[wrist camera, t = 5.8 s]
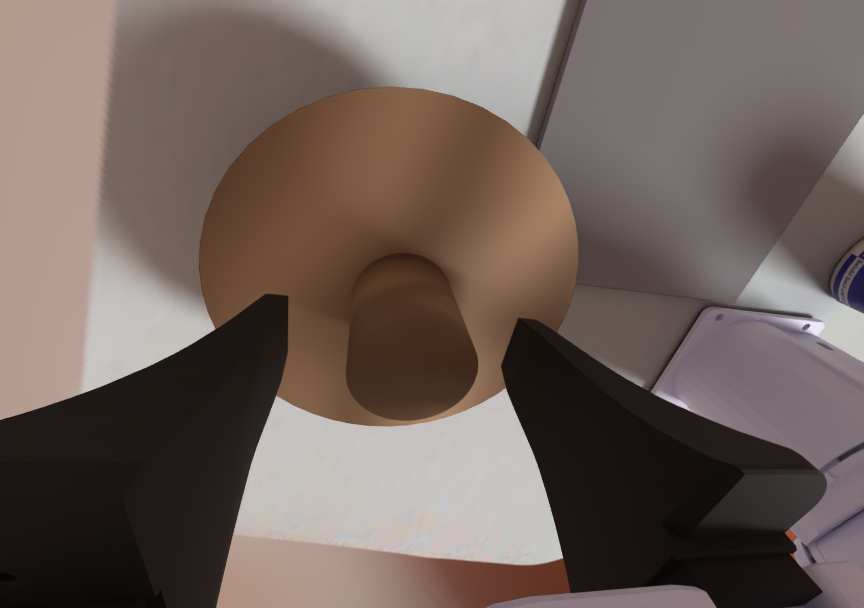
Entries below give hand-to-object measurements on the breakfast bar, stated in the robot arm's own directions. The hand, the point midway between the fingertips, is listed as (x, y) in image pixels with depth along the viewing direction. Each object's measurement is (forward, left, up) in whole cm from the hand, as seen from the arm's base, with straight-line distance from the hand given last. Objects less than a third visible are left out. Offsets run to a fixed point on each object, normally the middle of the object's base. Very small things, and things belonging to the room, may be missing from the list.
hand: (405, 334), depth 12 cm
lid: (0, 0, -3) cm, 3 cm away
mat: (-13, -7, -7) cm, 16 cm away
